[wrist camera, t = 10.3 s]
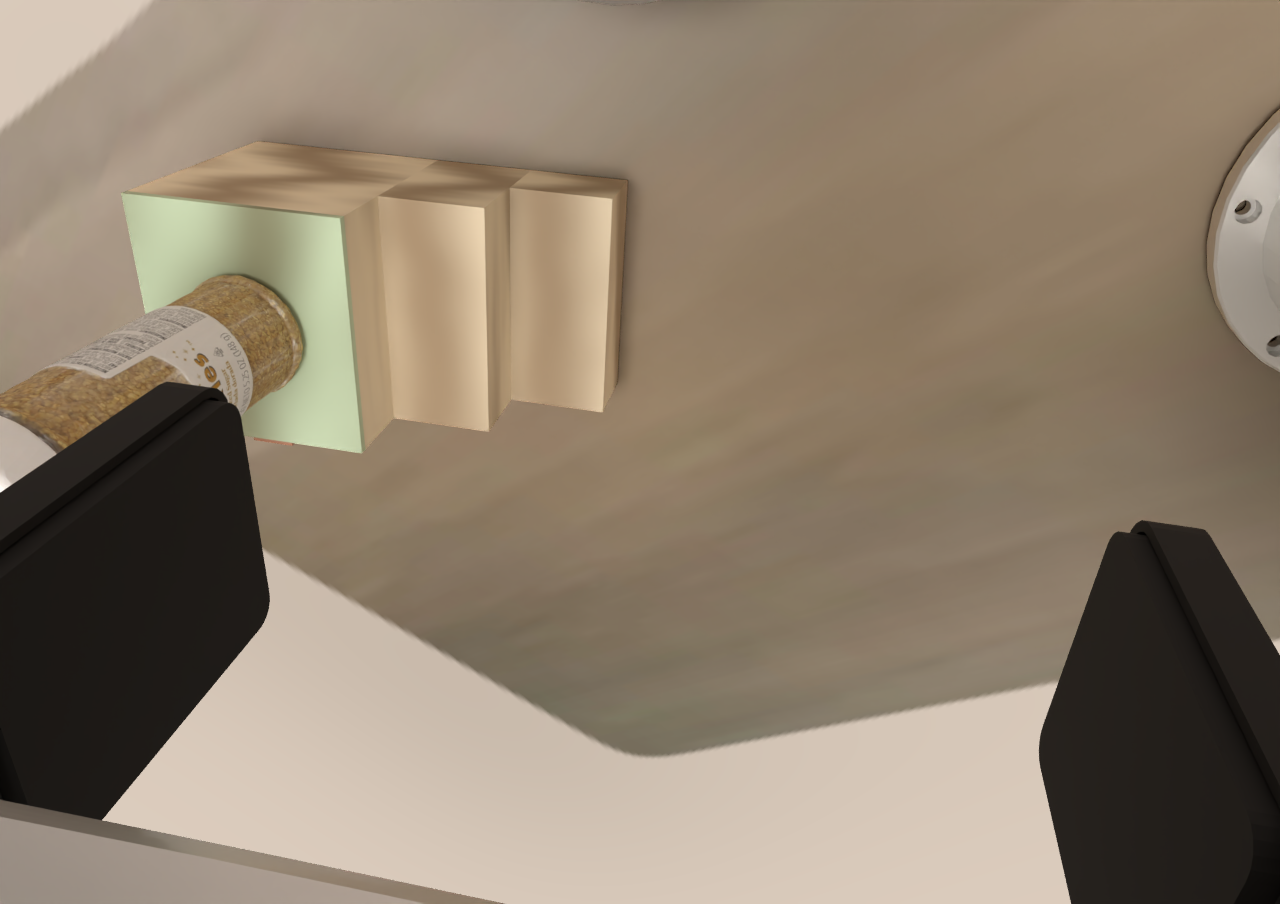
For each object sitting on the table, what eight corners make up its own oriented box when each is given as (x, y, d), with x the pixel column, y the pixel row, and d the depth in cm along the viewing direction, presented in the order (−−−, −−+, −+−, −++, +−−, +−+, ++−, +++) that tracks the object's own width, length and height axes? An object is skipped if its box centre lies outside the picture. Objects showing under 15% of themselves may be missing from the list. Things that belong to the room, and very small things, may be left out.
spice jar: (316, 393, 36) (57, 615, 24) (203, 383, 37) (-100, 593, 25) (295, 273, 34) (1, 452, 22) (176, 265, 34) (-169, 434, 23)
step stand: (627, 180, 39) (573, 245, 31) (616, 393, 44) (567, 495, 36) (257, 141, 41) (120, 193, 34) (284, 347, 46) (170, 435, 38)
